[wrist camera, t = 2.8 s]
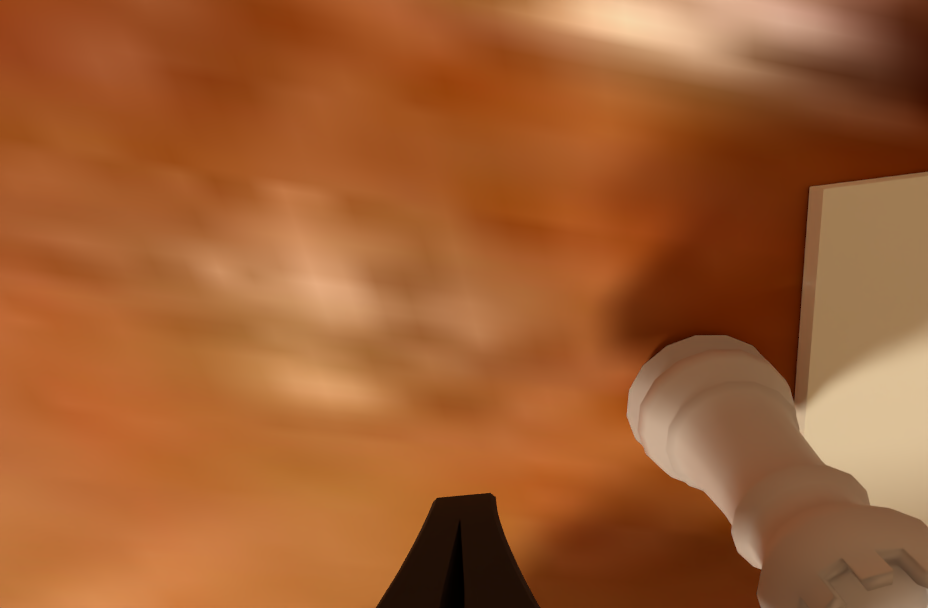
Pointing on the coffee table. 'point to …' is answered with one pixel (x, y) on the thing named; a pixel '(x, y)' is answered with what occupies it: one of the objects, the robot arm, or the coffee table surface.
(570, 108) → the coffee table surface
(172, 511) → the coffee table surface
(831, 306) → the paper sticky note
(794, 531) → the rook chess piece
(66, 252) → the coffee table surface
